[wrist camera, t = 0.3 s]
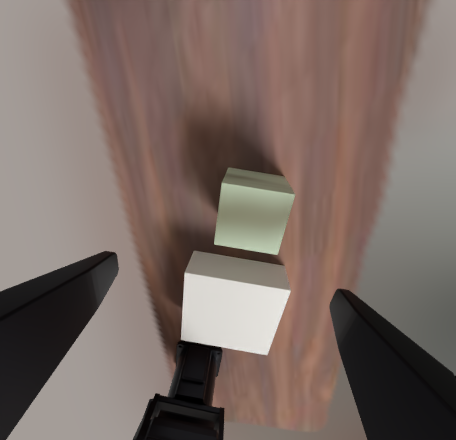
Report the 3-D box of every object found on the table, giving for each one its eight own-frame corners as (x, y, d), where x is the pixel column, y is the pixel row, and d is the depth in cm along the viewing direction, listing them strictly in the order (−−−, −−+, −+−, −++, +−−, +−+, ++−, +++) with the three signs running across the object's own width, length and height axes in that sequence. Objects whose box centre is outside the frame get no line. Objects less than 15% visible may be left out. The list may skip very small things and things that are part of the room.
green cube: (271, 225, 21) (277, 255, 16) (221, 217, 21) (213, 244, 16) (284, 176, 18) (295, 194, 14) (228, 167, 19) (221, 182, 14)
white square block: (264, 324, 27) (267, 355, 24) (189, 311, 28) (180, 339, 24) (284, 263, 23) (290, 290, 19) (194, 248, 23) (184, 272, 20)
